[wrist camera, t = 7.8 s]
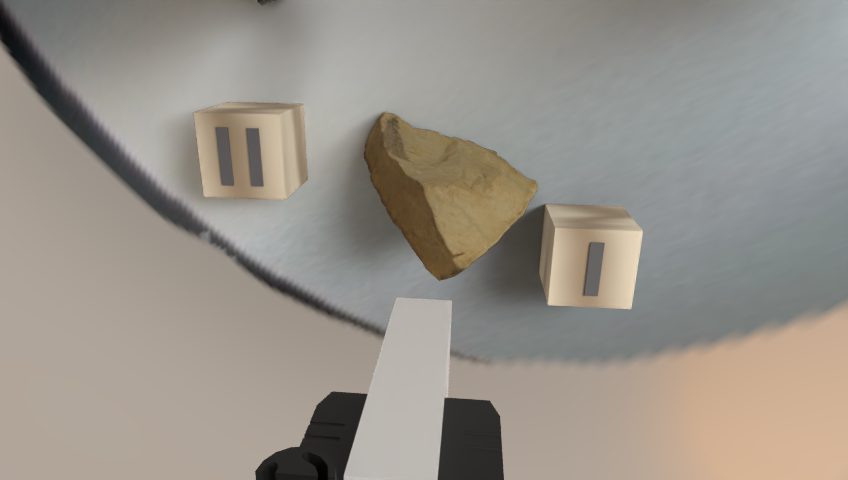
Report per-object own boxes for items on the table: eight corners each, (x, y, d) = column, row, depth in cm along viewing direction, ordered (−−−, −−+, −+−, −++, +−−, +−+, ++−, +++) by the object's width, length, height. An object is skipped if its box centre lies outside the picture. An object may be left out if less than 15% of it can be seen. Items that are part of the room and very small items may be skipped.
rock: (312, 153, 36) (394, 288, 37) (351, 110, 28) (453, 284, 29) (443, 82, 40) (513, 206, 41) (509, 29, 32) (592, 183, 33)
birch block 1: (303, 103, 37) (278, 114, 32) (307, 179, 39) (284, 200, 34) (228, 102, 37) (192, 112, 33) (236, 176, 39) (203, 197, 34)
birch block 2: (622, 206, 38) (643, 231, 33) (612, 275, 40) (631, 309, 35) (545, 203, 38) (555, 228, 33) (538, 272, 40) (547, 305, 35)
